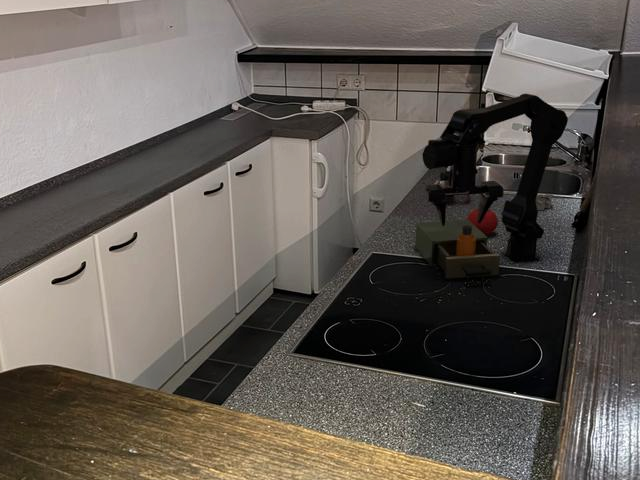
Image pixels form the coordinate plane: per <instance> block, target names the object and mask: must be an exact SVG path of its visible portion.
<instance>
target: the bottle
mask: <svg viewBox="0 0 640 480" xmlns="http://www.w3.org/2000/svg"><path fill="white" fill-rule="evenodd" d="M475 247H476V238H475V237H474V234H473V233H472V227H471V226H463V231H462V232H461V233H460V236H458V237H457V249H456V256H468V255H475Z"/></svg>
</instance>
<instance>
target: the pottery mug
mask: <svg viewBox="0 0 640 480" xmlns="http://www.w3.org/2000/svg"><path fill="white" fill-rule="evenodd" d="M442 188H451V186H448V185H445V184H444V185H443V186H442ZM455 192H457V191H455ZM454 197H455V196H445V199H444V201H445V202H446V203H451V202H452V201H453V199H454ZM470 199H471V194H469V195H466V199H465V203H469V201H470Z"/></svg>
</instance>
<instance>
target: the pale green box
mask: <svg viewBox="0 0 640 480" xmlns="http://www.w3.org/2000/svg"><path fill="white" fill-rule="evenodd" d="M415 225H416V227H415V248H416V250H417V251H418V252H419V253H420V255H421V256H422V257H423V258H424V259H425V261H426V262H427V263H428V265H429V266H430V267H431V268H435V267H440V266H439V265H438V263H437V262H436V261H435V244H439V243H453V242H457V237H458V236H460V233H461V232H462V231H463V226H471V227H472V233H473V234H474V237H475V238H476V241H482V242H483V243H484V244H485V245H486V246H487V247H488V236H487V235H484V234H483V233H482V232H481V231H480V230H479V229H478V228H477V227H476V226H474V225H473V224H472V223H471V222H470V221H469V220H467V219H457V220H445V226H442V224H441V221H440V220H439V221H426V222H416V223H415Z"/></svg>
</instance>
